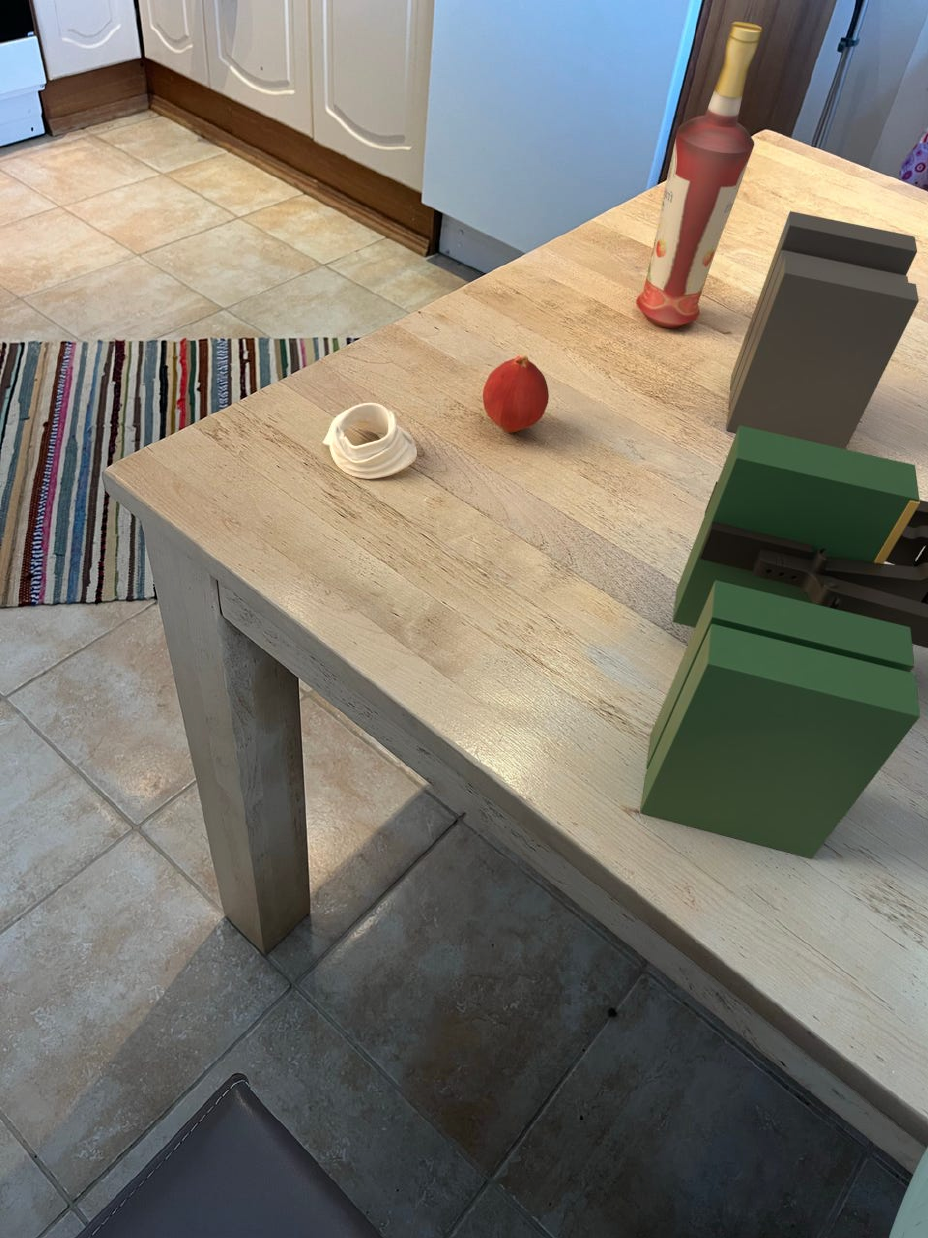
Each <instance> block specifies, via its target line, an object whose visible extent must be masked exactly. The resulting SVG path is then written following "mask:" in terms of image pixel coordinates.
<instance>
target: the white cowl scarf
mask: <svg viewBox="0 0 928 1238" xmlns="http://www.w3.org/2000/svg"><path fill="white" fill-rule="evenodd" d="M353 425H354V426H356V427H357V428H360V429H363V430H366V431H368V432H371V433H373V434H375V435H376V436H377V437H378V438H379V439H377V440H374V441H371V442H367V443H363V444H360V445H353V444H352V443H351V441H350V440H349V439H348V437H347V436H346V435H345V434H346V432H347V431H348V430H349V429H350V428H351V427H352V426H353ZM322 444H324V445H325V446H327V447H329V452H330V455H331V457H332V459H333V461H334V463H335V464H336V466H337V467H338V468H339V469H340V470H341V471H343V472H344V473H346V474H348V475H349V476H353V477H355V478H359V479H365V480H373V479H379V478H384V477H388V476H391V475H394V474H396V473H399V472H401V471H402V470H405V469H406V468H407V467H409V466H410V465H412V464H413V463H414V462H415V461H416V459H417V456H418V449H417V446H416V442H415V440H414V438H413V437H412V436H411V435H410V433H408V432H407V431H406V430H405V429H404V428H402V427H400V426H399V425H398V419H397V416H396V414H395V413H394V411H392V410H390V409H388V408H387V407H385V406H384V405H382V404H380V403H377V402H364V403H359V404H357V405H356V404H355V405H354V406H352V407H350V408H348V409H347V410H345V411H343V412H341V413H339V414H338V415H337V416H336V417H335V418H334V419H333V420H332V422H331V423H330V426H329V429H328V431H327V434H326V436H325V437H324V439H323V441H322Z"/></svg>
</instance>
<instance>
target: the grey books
mask: <svg viewBox="0 0 928 1238" xmlns="http://www.w3.org/2000/svg"><path fill="white" fill-rule="evenodd" d="M917 254H918V247H917V242H916V237H915V236H914V235H910V234H904V233H901V232H900V233H899V232H895V231H890V230H885V229H880V228H874V227H870V226H866V225H860V224H856V223H850V222H845V221H841V220H836V219H831V218H826V217H821V216H817V215H811V214H807V213H801V212H798V211H797V212H796V211H792V210H790V211H789V212H788V215H787V218H786V221H785V223H784V226H783V229H782V232H781V235H780V238H779V241H778V243H777V246H776V249H775V252H774V254H773V257H772V259H771V263H770V266H769V268H768V271H767V274H766V277H765V280H764V282H763V284H762V287H761V291H760V293H759V297H758V299H757V301H756V304H755V308H754V311H753V312H752V316H751V318H750V320H749V325H748V326H747V330H746V333H745V336H744V339H743V341H742V344H741V347H740V349H739V352H738V354H737V358H736V361H735V363H734V366H733V369H732V371H731V375H730V384H729V385H730V386H729V395H728V406H727V410H728V411H727V415H726V416H727V417H726V427H725V431H727V432H730V433H735V434H736V433H737V430H738V427H739V426H745V427H749V428H753V429H758V430H762V431H767V432H771V433H775V434H780V435H784V436H789V437H793V438H798V439H802V440H806V441H811V442H815V443H820V444H824V445H829V446H833V447H837V448H842V449H846V450H847V447H848V445H849V443H850V442H851V440H852V437H853V436H854V434H855V431H856V429H857V428H858V425H859V423H860V421H861V419H862V417H863V415H864V413H865V411H866V410H867V407H868V405H869V403H870V401H871V399H872V397H873V395H874V393H875V391H876V389H877V387H878V385H879V383H880V381H881V378H882V377H883V374H884V373H885V371H886V368H887V366H888V364H889V363H890V360H891V358H892V356H893V354H894V352H895V350H896V348H897V346H898V344H899V343H900V340H901V338H902V337H903V334H904V332H905V330H906V328H907V326H908V324H909V322H910V320H911V318H912V316H913V314H914V312H915V310H916V308H917V305H918V303H919V301H920V300H919V295H918V294H919V293H918V288H917V284H916V283H913V282H909V277H908V272H909V270H910V269H911V266H912V264H913V262H914V260H915V258H916V255H917Z"/></svg>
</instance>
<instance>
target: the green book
mask: <svg viewBox="0 0 928 1238" xmlns="http://www.w3.org/2000/svg"><path fill="white" fill-rule="evenodd" d="M917 476H918V475H917V470H916V465H915V464H913V463H908V462H903V461H899V460H895V459H894V460H893V459H890V458H885V457H882V456H877V455H873V454H868V453H864V452H859V451H855V450H851V449H847V448H846V449H842V448H837V447H833V446H829V445H824V444H820V443H815V442H811V441H806V440H802V439H798V438H793V437H789V436H784V435H780V434H775V433H771V432H767V431H762V430H758V429H753V428H749V427H745V426H739V427H738V430H737V433H735V435H734V438H733V441H732V443H731V445H730V449H729V451H728V454H727V456H726V459H725V461H724V464H723V467H722V469H721V472H720V475H719V478H718V480H717V481H716V482H717V485H716V488H715V490H714V493H713V495H712V498H711V501H710V503H709V506H708V508H707V507H706V508H707V511H706V514H705V513H704V516H703V519H702V521H701V525H700V527H699V530H698V532H697V535H696V537H695V540H694V542H693V545H692V548H691V551H690V553H689V556H688V558H687V561H686V564H685V566H684V569H683V572H682V574H681V577H680V579H679V582H678V585H677V587H676V592H675V599H674V606H673V614H672V623H674V624H678V625H682V626H687V627H691V628H694V629H695V627H696V625H697V623H698V620H699V618H700V615H701V613H702V611H703V608H704V606H705V604H706V601H707V599H708V596H709V594H710V592H711V589H712V587H713V585H714V582H715V581H716V580H717V581H721V582H725V583H729V584H733V585H737V586H741V587H746V588H750V589H754V590H758V591H762V592H766V593H770V594H775V595H779V596H783V597H787V598H791V599H795V600H799V601H803V602H808V603H812V602H811V600H810V598H809V596H808V595H807V594H805V593H803V592H802V591H801V589H800V587H797V586H792V585H788V584H784V583H780V582H777V581H771V580H770V579H769V580H767V579H763V578H760V577H758V576H756V575H754V574H753V571H749V570H744V569H740V568H736V567H732V566H728V565H723V564H719V563H715V562H711V561H707V560H702V559H700V552H701V549H702V546H703V544H704V541H705V539H706V536H707V534H708V531H709V528H710V526H711V523H712V521H713V522H717V523H721V524H726V525H730V526H734V527H738V528H743V529H747V530H751V531H755V532H760V533H764V534H768V535H772V536H777V537H781V538H785V539H790V540H794V541H798V542H802V543H807V544H811V545H813V554H812V556H811V557H810V559H809V560H813V559H814V557H815V555H816V553H817V551H818V550H819V549H820V548H826V549H825V551H827V555H828V557H833V558H841V559H850V560H859V561H867V562H876V563H881V564H885V562H886V559H887V557H888V556H889V554H890V552H891V551H892V549H893V547H894V546H895V544H896V542H897V540H898V539H899V537H900V535H901V534H902V532H903V530H904V529H905V527H906V525H907V524H908V522H909V520H910V519H911V517H912V515H913V514H914V512H915V510H916V509H917V507H918V505H919V504H920V501H919V500H920V492H919V485H918V484H919V483H918V477H917ZM840 601H841V600H840V599H837V600H836V602H835V603H836V604H839V603H840Z"/></svg>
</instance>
